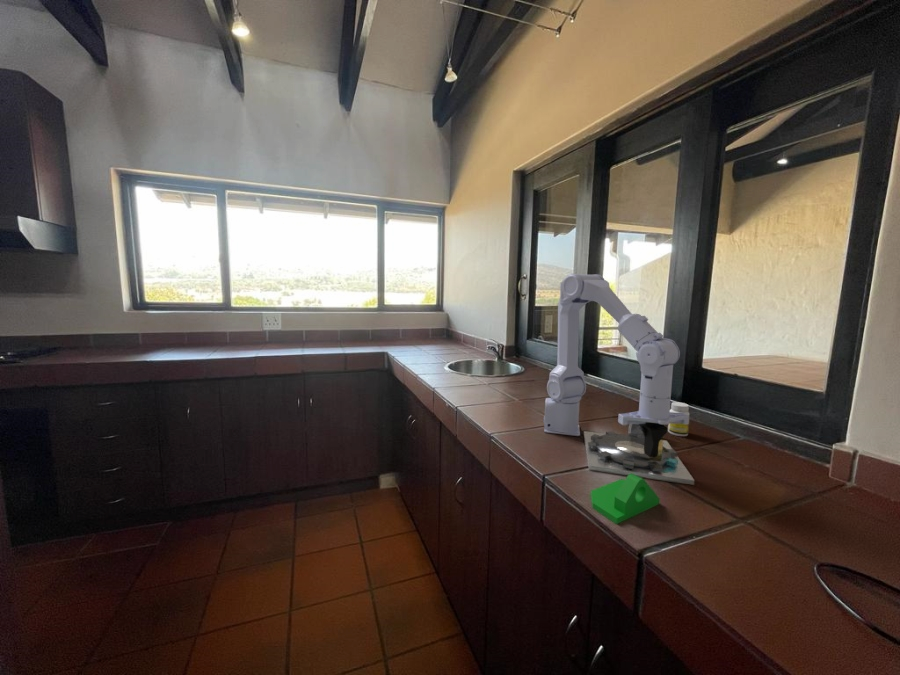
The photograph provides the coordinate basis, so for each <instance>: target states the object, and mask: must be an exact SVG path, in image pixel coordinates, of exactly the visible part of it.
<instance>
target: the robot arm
mask: <svg viewBox="0 0 900 675" xmlns="http://www.w3.org/2000/svg"><path fill="white" fill-rule="evenodd" d="M559 285H560V296H559V299H558V305H557V354H556V358H557V363H556V365H555V367H554V368H553V369H552V370H551V371H550V372H549V378H548V381H547V384H546V390H547V391H546V392H547V394H548V397H545V404H544V416H543V424H544V425H543V428H544V430H543V431H544V433H548V434H549V433H550V434H557V435H558V434H559V435H566V436H574V437H580V436H581V431H580V425H579V417H580V416H579V415H580V414H579V413H580V401H581V400H582V397H583V396H584V395H585V393H586V390H587V384H586V380H585V377H584V376H585V373H584V371H583V370H582V369H581V368H580V367H579V337H580V336H579V333H580V332H579V331H580V329H579V328H580V327H579V326H580V324H579V323H580V310H581V309H582V308H583V307H585V305H586V304H587V303H590V302H596V303H598V304H597V305H599V306H600V307H602V309H603V310H604V311H605V312H607V314H609V315H610V316H611V317H612V318H613V319H614V320H615V321H616V322H617V323H618V327H617V331H618V332H619V333H620V334H621V336H623V337H624V339H625V340H626V341H627V342H628V343H629V345H630V346H631V347H632V348H633V349H634V350H635V351H636V353H635V354H636V355H635V356H636V359H637V362H638V363H639V366H640V372H641V374H640V388H639V389H640V390H639V400H638V402H639V405H638V410H637V411H632V412H626V413H618V415H617V416H618V417H617V418H618V419H617V422H618V423H619V424H620V425H622V426H628V425H629V424H639V426H640V427H641V429H642V431H643V434H644V436H645V440H644V453H645V454H646V455H648V456H649V457H657V454H658V446H659V442H660V440H663V439H662V438H663V437H664V436H665V435H666V434H667V433H668V426H667V425H668V424H670V423H682V424H689V425H690V417H689V416H688V415H686V414H684V413H673V412H670V409H671V396H672V388H673V387H672V383H673V370H674V365H675V364H676V363H677V362H678V361H679V359H680V357H681V356H680V355H681V351H680V348H679V346H678V345H677V344H676V343H677V342H675V340H673V339H671V338H664V335H663V334H662V333H661V332H658V331H657V330H656V328H654V327H653V326H652V325H651V324H650V323H649V322H648V321H649V318H648V317H647V316H646V315H641V314H640V313H632V312H631V311H630V310H629V308H627V306H626V305H625V303H623V302H622V300H621V299H620V298H619V297H618V296H617V295H616V293H615V292H614V291H613V289H612V288H611V287H610V282H608V280H605V278H604V277H603V276H602V275H600V274H599V273H598V274H597V273H596V274H585V273H584V274H580V273H569V274H567V275H566V277H564V279H563V280H562V281H561V282H560V284H559Z"/></svg>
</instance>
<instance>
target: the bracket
mask: <svg viewBox="0 0 900 675" xmlns="http://www.w3.org/2000/svg"><path fill="white" fill-rule="evenodd" d="M590 500H591V507H592V509H593V510H594V511H596V512H598V513H599V514H601V515H602V516H603V517H605V518H607V519H608V520H610V521H612V522H613V523H614V524H616V525H618V524H620V523H623V522H624V521H626V520H629V519H631V518H633V517H634V516H637V515H639V514H641V513H644V512H646V511H648V510H650V509H651V508H654V507H655V506H659V505H660V503H661V502H660V500H661V499H660V497H659V496H658V495H657V493H656V492H655V491H654V490H653V489H652V487H651V486H650V485H649V483H648V482H647V481H646V480H645V478H642V477H638V476H636V475H634V474H629V475H626V478H625V479H623V478H620V479H618V480H615V481H612V482H610V483H607V484H605V485H602V486H600V487H598V488H597V487H596V488H594V489H592V490H591V491H590Z"/></svg>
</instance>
